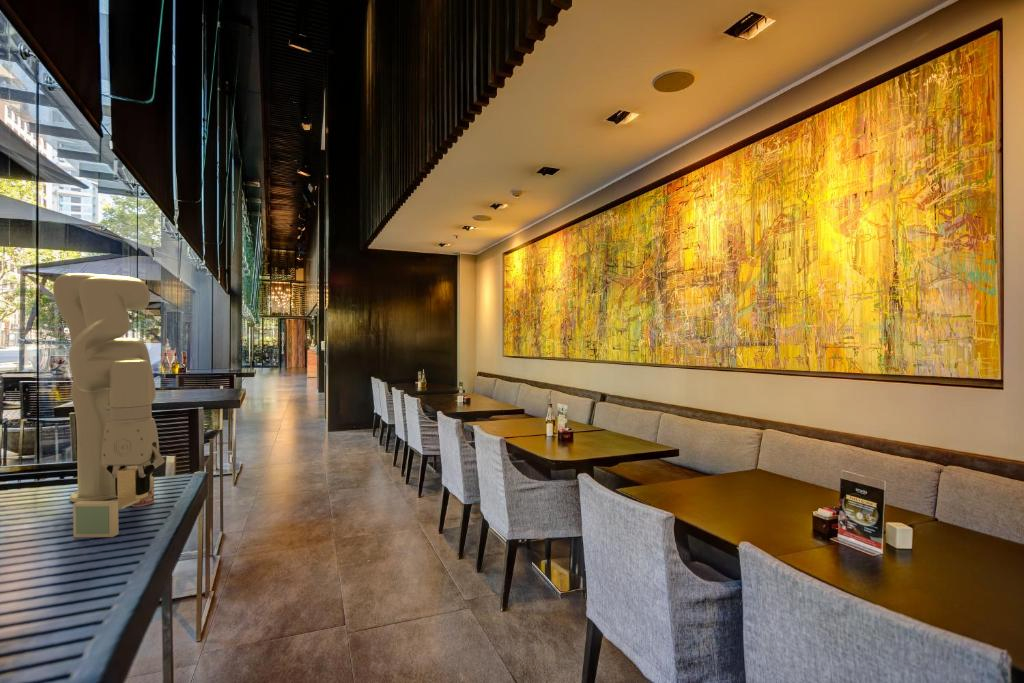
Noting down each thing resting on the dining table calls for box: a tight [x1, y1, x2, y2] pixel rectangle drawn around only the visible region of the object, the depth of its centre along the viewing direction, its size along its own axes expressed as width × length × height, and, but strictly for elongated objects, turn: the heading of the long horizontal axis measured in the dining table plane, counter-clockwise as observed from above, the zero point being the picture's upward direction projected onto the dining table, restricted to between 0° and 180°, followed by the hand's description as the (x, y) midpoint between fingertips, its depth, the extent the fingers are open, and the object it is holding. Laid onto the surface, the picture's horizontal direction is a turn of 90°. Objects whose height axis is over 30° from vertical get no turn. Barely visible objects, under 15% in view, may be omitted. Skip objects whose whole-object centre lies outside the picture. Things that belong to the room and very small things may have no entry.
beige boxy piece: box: [110, 465, 148, 510], centre depth 112 cm, size 9×6×7 cm, turn 1°
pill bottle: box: [130, 473, 155, 508], centre depth 124 cm, size 5×5×8 cm
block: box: [72, 500, 120, 538], centre depth 104 cm, size 2×8×7 cm, turn 91°
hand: (132, 492), depth 115 cm, fingers closed on beige boxy piece, 4 cm apart
